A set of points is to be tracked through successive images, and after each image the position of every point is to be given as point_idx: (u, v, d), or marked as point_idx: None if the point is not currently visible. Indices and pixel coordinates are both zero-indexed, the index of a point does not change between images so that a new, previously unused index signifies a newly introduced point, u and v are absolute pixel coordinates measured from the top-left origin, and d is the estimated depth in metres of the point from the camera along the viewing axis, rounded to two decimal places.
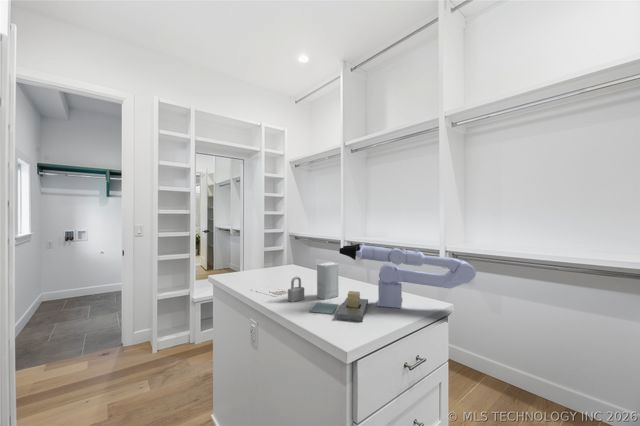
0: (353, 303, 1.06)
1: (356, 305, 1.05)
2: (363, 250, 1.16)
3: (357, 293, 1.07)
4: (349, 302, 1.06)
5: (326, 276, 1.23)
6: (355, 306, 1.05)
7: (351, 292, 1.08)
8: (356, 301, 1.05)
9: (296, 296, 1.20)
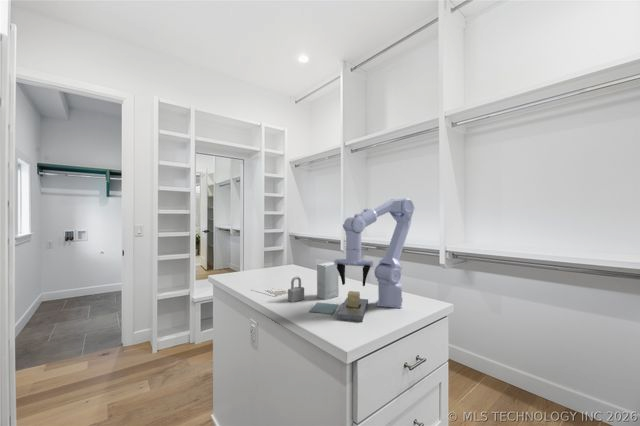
0: (353, 303, 1.06)
1: (356, 305, 1.05)
2: (360, 260, 1.06)
3: (357, 293, 1.07)
4: (349, 302, 1.06)
5: (326, 276, 1.23)
6: (355, 306, 1.05)
7: (351, 292, 1.08)
8: (356, 301, 1.05)
9: (296, 296, 1.20)
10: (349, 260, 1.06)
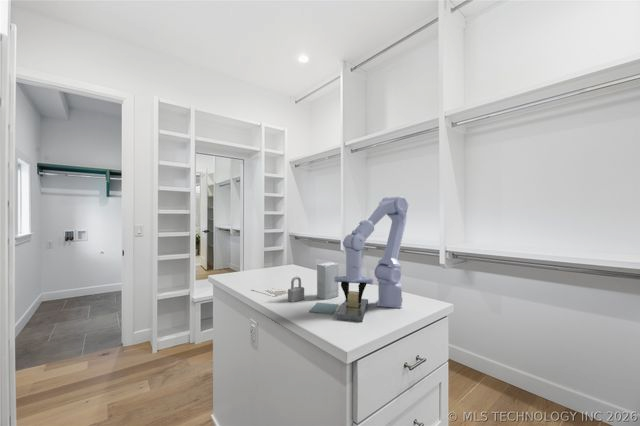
0: (353, 303, 1.06)
1: (356, 305, 1.05)
2: (360, 277, 1.06)
3: (357, 293, 1.07)
4: (349, 302, 1.06)
5: (326, 276, 1.23)
6: (355, 306, 1.05)
7: (351, 292, 1.08)
8: (356, 301, 1.05)
9: (296, 296, 1.20)
10: (349, 278, 1.06)
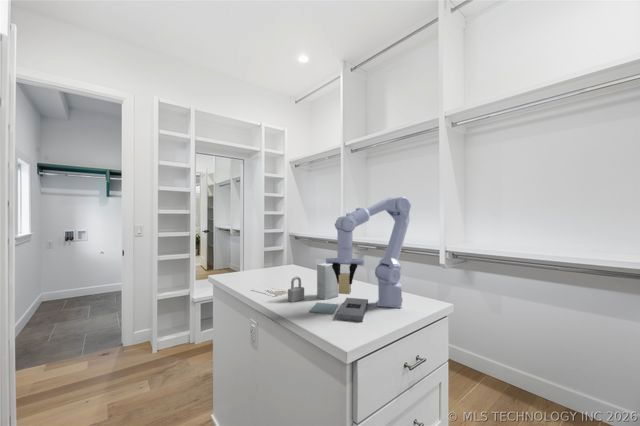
0: (344, 284, 1.07)
1: (347, 286, 1.06)
2: (351, 258, 1.07)
3: (348, 274, 1.08)
4: (340, 283, 1.07)
5: (326, 276, 1.23)
6: (346, 287, 1.06)
7: (342, 273, 1.09)
8: (347, 282, 1.06)
9: (296, 296, 1.20)
10: (340, 259, 1.06)
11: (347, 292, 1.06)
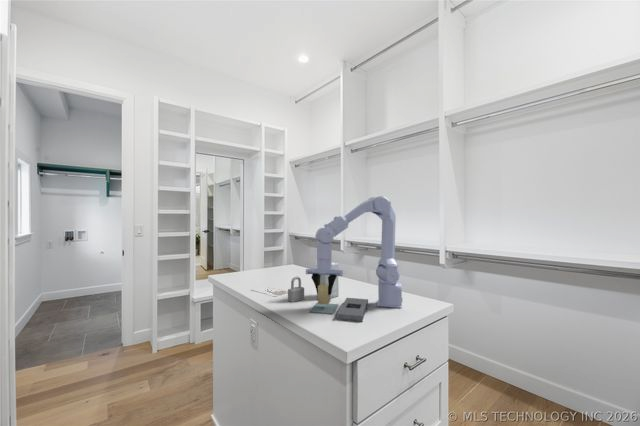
0: (323, 294, 1.09)
1: (326, 296, 1.08)
2: (330, 269, 1.09)
3: (327, 285, 1.10)
4: (319, 293, 1.09)
5: (326, 276, 1.23)
6: (325, 297, 1.09)
7: (322, 284, 1.11)
8: (326, 292, 1.08)
9: (296, 296, 1.20)
10: (319, 270, 1.09)
11: (326, 302, 1.08)
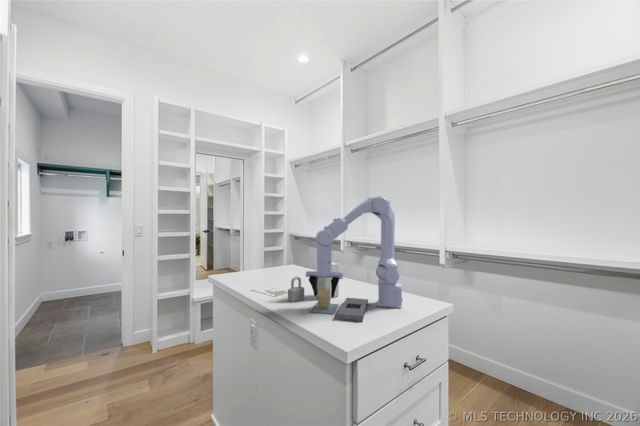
0: (323, 299, 1.09)
1: (326, 301, 1.08)
2: (330, 272, 1.09)
3: (327, 290, 1.10)
4: (319, 298, 1.09)
5: None
6: (325, 302, 1.09)
7: (322, 289, 1.11)
8: (326, 297, 1.09)
9: (296, 296, 1.20)
10: (319, 272, 1.09)
11: (326, 307, 1.09)
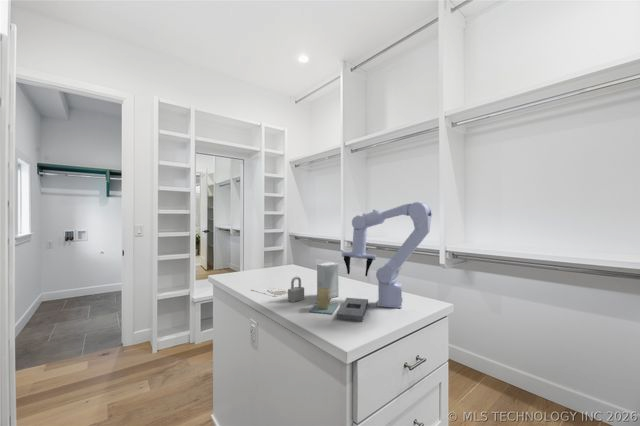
0: (323, 299, 1.09)
1: (326, 301, 1.08)
2: (364, 253, 1.22)
3: (327, 290, 1.10)
4: (319, 298, 1.09)
5: (326, 276, 1.23)
6: (325, 302, 1.09)
7: (321, 289, 1.11)
8: (326, 297, 1.09)
9: (296, 296, 1.20)
10: (355, 253, 1.21)
11: (326, 307, 1.09)
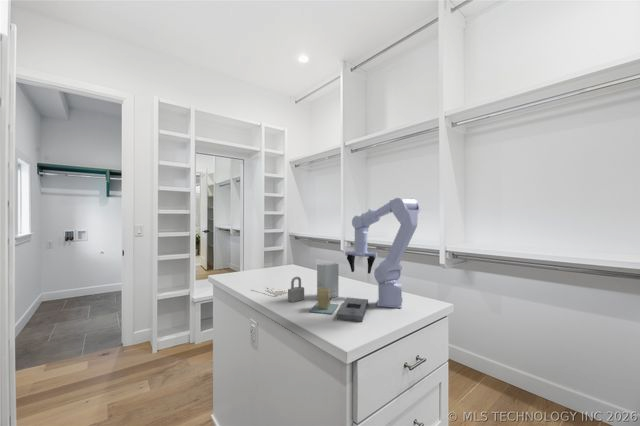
0: (323, 299, 1.09)
1: (326, 301, 1.08)
2: (366, 251, 1.27)
3: (327, 290, 1.10)
4: (319, 298, 1.09)
5: (326, 276, 1.23)
6: (325, 302, 1.09)
7: (321, 289, 1.11)
8: (326, 297, 1.09)
9: (296, 296, 1.20)
10: (356, 251, 1.27)
11: (326, 307, 1.09)
